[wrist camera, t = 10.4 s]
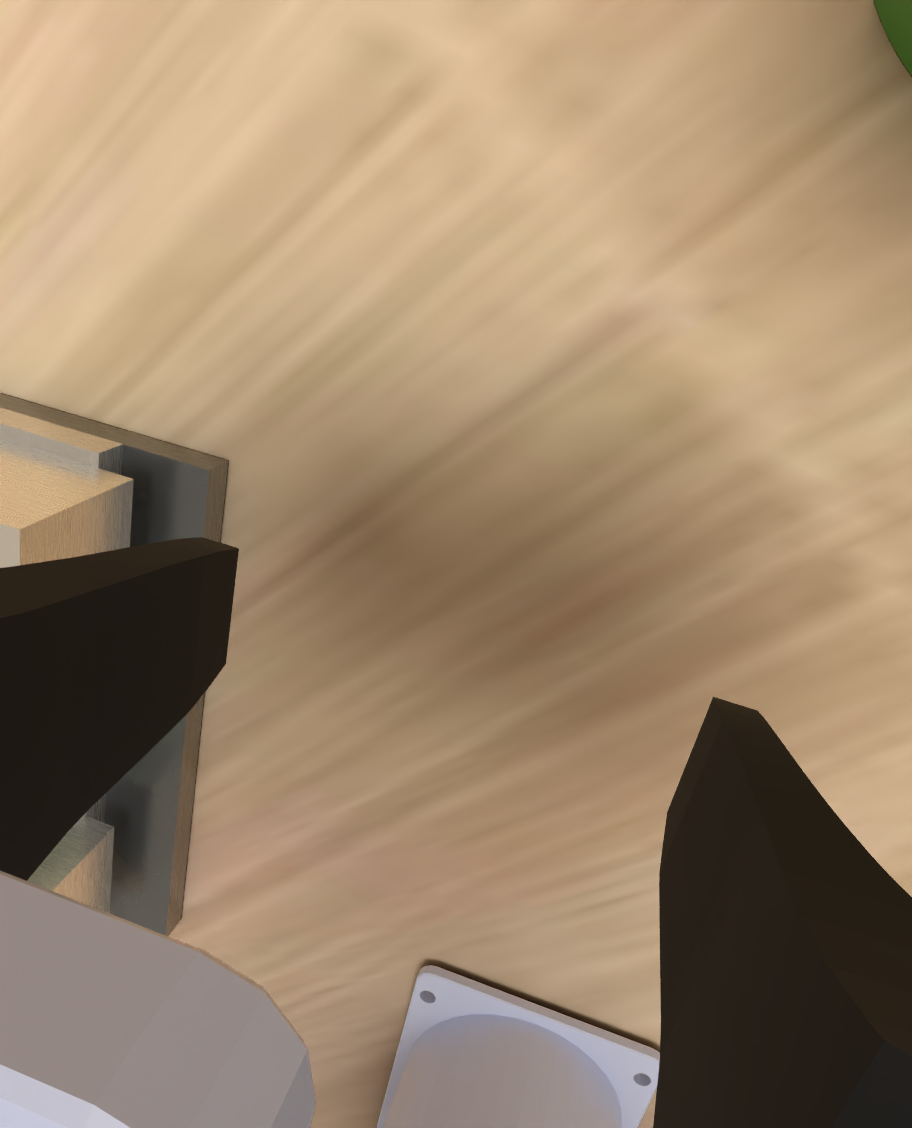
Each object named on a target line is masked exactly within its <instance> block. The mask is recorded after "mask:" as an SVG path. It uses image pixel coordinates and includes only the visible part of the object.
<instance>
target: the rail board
mask: <svg viewBox="0 0 912 1128" xmlns="http://www.w3.org/2000/svg"><path fill="white" fill-rule="evenodd" d="M227 470H228V460H225V459H221V458H218V457H215V456H211V455H208V454H204V453H201V452H198V451H194V450H191V449H188V448H184V447H181V446H177V445H174V444H171V443H167V442H164V441H161V440H157V439H154V438H150V437H147V436H144V435H140V434H137V433H134V432H130V431H127V430H123V429H120V428H117V427H113V426H110V425H107V424H103V423H100V422H96V421H93V420H90V419H86V418H83V417H80V416H76V415H73V414H69V413H66V412H63V411H59V410H56V409H53V408H49V407H46V406H42V405H39V404H36V403H32V402H29V401H26V400H22V399H19V398H15V397H12V396H9V395H5V394H2V393H0V568H4V567H12V566H19V565H26V564H32V563H39V562H45V561H52V560H59V559H65V558H72V557H78V556H84V555H89V554H95V553H100V552H106V551H111V550H117V549H122V548H128V547H133V546H139V545H144V544H150V543H156V542H161V541H168V540H175V539H182V538H196V537H203V538H207V539H210V540H213V541H216V542H219V543H220V538H221V529H222V519H223V509H224V499H225V490H226V480H227ZM203 703H204V694H203V695H202V696H201V698H200V699H199V700H198V702H197V703H196V704H195V705H194V707H193V708H192V709H191V710H190V712H189V713H188V714H187V715H186V716H185V717H184V718H183V719H182V720H181V721H180V722H179V723H178V724H177V725H176V726H175V727H174V728H173V729H172V730H171V731H170V732H169V733H168V734H166V735H165V736H164V737H163V738H162V739H161V740H160V741H159V742H158V743H157V744H156V745H155V746H154V747H153V748H152V749H151V750H150V751H149V752H148V753H147V754H146V755H145V756H144V757H143V758H142V759H141V760H140V761H139V762H138V763H137V764H136V765H135V766H134V767H132V768H131V769H130V770H129V771H128V772H127V773H126V774H125V775H124V776H123V777H122V778H121V779H120V780H119V781H118V782H117V783H116V784H115V785H114V786H113V787H112V788H111V789H110V790H109V791H108V792H107V793H106V794H104V795H103V796H102V797H101V798H100V799H99V800H98V801H97V802H96V803H95V804H94V805H93V806H92V807H91V808H90V809H89V810H88V811H87V812H86V813H85V814H84V815H83V816H82V817H81V818H80V820H79V821H78V822H77V823H76V824H75V825H74V826H73V827H72V828H71V829H70V830H69V831H68V832H67V833H66V835H65V836H64V837H63V838H62V839H61V841H60V842H59V843H58V844H57V845H56V847H55V848H54V849H53V850H52V851H51V853H50V854H49V855H48V856H47V857H46V859H45V860H44V861H43V862H42V863H41V865H40V866H39V867H38V868H37V869H36V871H35V872H34V873H33V874H32V875H31V877H30V878H29V879H28V880H27V881H28V882H30V883H33V884H36V885H38V886H41V887H43V888H46V889H48V890H51V891H53V892H56V893H58V894H61V895H64V896H66V897H69V898H71V899H74V900H76V901H79V902H81V903H84V904H86V905H89V906H92V907H94V908H97V909H99V910H102V911H104V912H107V913H109V914H112V915H114V916H117V917H120V918H122V919H125V920H127V921H130V922H132V923H135V924H137V925H140V926H142V927H145V928H148V929H150V930H153V931H155V932H158V933H160V934H163V935H165V936H169V935H170V933H171V932H172V931H173V929H174V928H175V927H176V925H177V924H178V922H179V921H180V920H181V916H182V906H183V897H184V887H185V877H186V868H187V858H188V848H189V838H190V829H191V819H192V809H193V800H194V790H195V780H196V771H197V761H198V751H199V742H200V732H201V722H202V713H203Z"/></svg>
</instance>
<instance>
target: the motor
mask: <svg viewBox="0 0 912 1128" xmlns="http://www.w3.org/2000/svg"><path fill="white" fill-rule="evenodd" d="M873 1H874V4H875V6H876V9H877V12H878V15H879V18H880V21H881V23H882V25H883V28H884V30H885V32H886V34H887V37H888V39H889V41H890V42H891V44H892V46H893V48H894V50H895V52H896V54H897V55H898V57H899V58H900V60H901V61H902V63H903V64H904V66H905V68H906V69H907V71H908V72H909V73H910V74H911V76H912V0H873Z"/></svg>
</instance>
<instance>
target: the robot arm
mask: <svg viewBox="0 0 912 1128" xmlns="http://www.w3.org/2000/svg"><path fill="white" fill-rule="evenodd" d="M238 551H239V548H235V547H232V546H229V545H226V544H223V543H219V542H216V541H213V540H210V539H207V538H203V537H196V538H182V539H175V540H168V541H161V542H156V543H150V544H144V545H139V546H133V547H128V548H122V549H117V550H111V551H106V552H100V553H95V554H89V555H84V556H78V557H72V558H65V559H59V560H52V561H45V562H39V563H32V564H26V565H19V566H12V567H4V568H0V1128H310V1127H311V1122H312V1117H313V1113H314V1108H315V1104H316V1103H315V1096H314V1090H313V1083H312V1076H311V1069H310V1062H309V1056H308V1049H307V1047H306V1045H305V1044H304V1042H303V1040H302V1038H301V1036H300V1035H299V1034H298V1032H297V1031H296V1030H295V1028H294V1027H293V1026H292V1024H291V1023H290V1022H289V1020H288V1019H287V1018H286V1017H285V1015H284V1014H283V1013H282V1011H281V1010H280V1009H279V1007H278V1006H277V1005H276V1003H275V1002H274V1001H273V999H272V998H271V997H270V996H269V994H268V993H267V992H266V990H265V989H264V988H263V987H262V986H261V985H259V984H257V983H256V982H254V981H253V980H251V979H249V978H248V977H246V976H245V975H243V974H241V973H240V972H238V971H236V970H235V969H233V968H232V967H230V966H228V965H227V964H225V963H223V962H222V961H220V960H219V959H217V958H215V957H214V956H212V955H211V954H209V953H207V952H206V951H204V950H201V949H199V948H196V947H193V946H191V945H188V944H186V943H183V942H181V941H178V940H176V939H173V938H171V937H168V936H165V935H163V934H160V933H158V932H155V931H153V930H150V929H148V928H145V927H142V926H140V925H137V924H135V923H132V922H130V921H127V920H125V919H122V918H120V917H117V916H114V915H112V914H109V913H107V912H104V911H102V910H99V909H97V908H94V907H92V906H89V905H86V904H84V903H81V902H79V901H76V900H74V899H71V898H69V897H66V896H64V895H61V894H58V893H56V892H53V891H51V890H48V889H46V888H43V887H41V886H38V885H36V884H33V883H30V882H28V881H27V880H28V879H29V878H30V877H31V875H32V874H33V873H34V872H35V871H36V869H37V868H38V867H39V866H40V865H41V863H42V862H43V861H44V860H45V859H46V857H47V856H48V855H49V854H50V853H51V851H52V850H53V849H54V848H55V847H56V845H57V844H58V843H59V842H60V841H61V839H62V838H63V837H64V836H65V835H66V833H67V832H68V831H69V830H70V829H71V828H72V827H73V826H74V825H75V824H76V823H77V822H78V821H79V820H80V818H81V817H82V816H83V815H84V814H85V813H86V812H87V811H88V810H89V809H90V808H91V807H92V806H93V805H94V804H95V803H96V802H97V801H98V800H99V799H100V798H101V797H102V796H103V795H104V794H106V793H107V792H108V791H109V790H110V789H111V788H112V787H113V786H114V785H115V784H116V783H117V782H118V781H119V780H120V779H121V778H122V777H123V776H124V775H125V774H126V773H127V772H128V771H129V770H130V769H131V768H132V767H134V766H135V765H136V764H137V763H138V762H139V761H140V760H141V759H142V758H143V757H144V756H145V755H146V754H147V753H148V752H149V751H150V750H151V749H152V748H153V747H154V746H155V745H156V744H157V743H158V742H159V741H160V740H161V739H162V738H163V737H164V736H165V735H166V734H168V733H169V732H170V731H171V730H172V729H173V728H174V727H175V726H176V725H177V724H178V723H179V722H180V721H181V720H182V719H183V718H184V717H185V716H186V715H187V714H188V713H189V712H190V710H191V709H192V708H193V707H194V705H195V704H196V703H197V702H198V700H199V699H200V698H201V696H202V695H203V694H204V693H205V691H206V690H207V689H208V687H209V686H210V685H211V683H212V682H213V681H214V679H215V678H216V676H217V675H218V674H219V672H220V671H221V670H222V668H223V667H224V665H225V664H226V657H227V648H228V639H229V630H230V621H231V613H232V604H233V595H234V586H235V577H236V569H237V560H238ZM659 893H660V978H661V1041H660V1053H659V1052H658V1051H657V1050H655V1049H653V1048H651V1047H648V1046H646V1045H643V1044H640V1043H638V1042H635V1041H632V1040H630V1039H627V1038H624V1037H622V1036H619V1035H617V1034H614V1033H611V1032H609V1031H606V1030H603V1029H601V1028H598V1027H595V1026H593V1025H590V1024H587V1023H585V1022H582V1021H580V1020H577V1019H574V1018H572V1017H569V1016H566V1015H564V1014H561V1013H558V1012H556V1011H553V1010H551V1009H548V1008H545V1007H543V1006H540V1005H537V1004H535V1003H532V1002H529V1001H527V1000H524V999H521V998H519V997H516V996H514V995H511V994H508V993H506V992H503V991H500V990H498V989H495V988H492V987H490V986H487V985H485V984H482V983H479V982H477V981H474V980H471V979H469V978H466V977H463V976H461V975H458V974H455V973H453V972H450V971H448V970H445V969H442V968H440V967H437V966H433V965H429V966H424V967H422V968H421V969H420V971H419V973H418V976H417V979H416V982H415V986H414V990H413V994H412V997H411V1001H410V1005H409V1008H408V1012H407V1016H406V1019H405V1023H404V1027H403V1030H402V1034H401V1038H400V1042H399V1045H398V1049H397V1053H396V1056H395V1060H394V1064H393V1067H392V1071H391V1075H390V1079H389V1082H388V1086H387V1090H386V1093H385V1097H384V1101H383V1104H382V1108H381V1112H380V1115H379V1119H378V1123H377V1127H376V1128H638V1126H639V1124H640V1122H641V1120H642V1118H643V1116H644V1113H645V1111H646V1109H647V1107H648V1105H649V1103H650V1101H651V1099H652V1097H653V1094H654V1092H655V1090H656V1088H657V1094H656V1104H655V1115H654V1126H653V1128H912V897H911V896H910V895H909V894H908V893H907V892H906V891H905V890H904V889H903V888H902V887H901V886H900V885H899V884H898V883H897V882H896V881H895V880H894V879H893V878H892V877H891V876H890V875H889V874H888V873H887V872H886V871H885V870H884V869H883V868H882V867H881V866H880V865H879V864H878V863H877V861H876V860H875V859H874V858H873V857H872V856H871V855H870V854H869V852H868V851H867V850H866V849H865V848H864V847H863V845H862V844H861V843H860V842H859V841H858V840H857V839H856V837H855V836H854V835H853V834H852V833H851V832H850V830H849V829H848V828H847V827H846V826H845V825H844V823H843V822H842V821H841V820H840V818H839V817H838V816H837V815H836V813H835V812H834V811H833V810H832V809H831V807H830V806H829V805H828V804H827V802H826V801H825V800H824V798H823V797H822V796H821V795H820V793H819V792H818V791H817V789H816V788H815V787H814V785H813V784H812V783H811V781H810V780H809V779H808V777H807V776H806V775H805V773H804V772H803V771H802V769H801V768H800V767H799V765H798V764H797V762H796V761H795V760H794V758H793V757H792V756H791V754H790V753H789V751H788V750H787V749H786V747H785V746H784V744H783V743H782V742H781V740H780V739H779V738H778V736H777V735H776V733H775V732H774V731H773V729H772V728H771V727H770V725H769V724H768V723H767V721H766V720H765V719H764V717H763V716H762V715H761V714H760V713H759V712H758V711H757V710H754V709H750V708H747V707H744V706H741V705H738V704H734V703H731V702H728V701H725V700H722V699H718V698H715V697H713V699H712V702H711V704H710V707H709V709H708V712H707V714H706V717H705V719H704V722H703V724H702V727H701V729H700V732H699V734H698V737H697V739H696V742H695V744H694V747H693V749H692V752H691V754H690V757H689V759H688V762H687V764H686V767H685V769H684V772H683V774H682V777H681V779H680V782H679V784H678V787H677V789H676V792H675V794H674V797H673V799H672V802H671V805H670V807H669V810H668V812H667V819H666V826H665V834H664V841H663V849H662V857H661V866H660V881H659ZM428 991H430V992H431V993H429V992H428ZM640 1073H642V1074H640Z"/></svg>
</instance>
